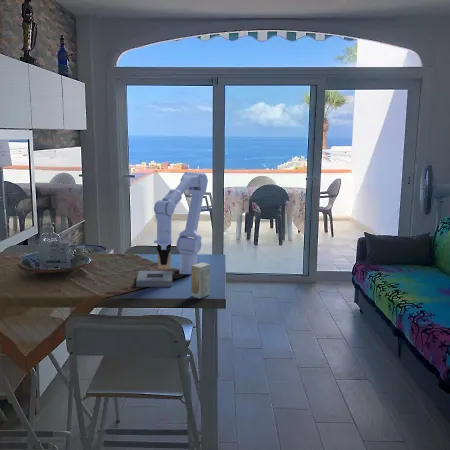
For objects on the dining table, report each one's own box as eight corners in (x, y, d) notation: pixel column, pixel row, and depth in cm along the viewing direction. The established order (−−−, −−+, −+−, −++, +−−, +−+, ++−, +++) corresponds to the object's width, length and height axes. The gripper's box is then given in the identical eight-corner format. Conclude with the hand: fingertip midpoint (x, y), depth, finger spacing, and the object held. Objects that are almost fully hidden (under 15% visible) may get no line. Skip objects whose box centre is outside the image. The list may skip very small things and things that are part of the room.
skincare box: (201, 292, 186) (202, 261, 184) (210, 294, 184) (211, 263, 182) (190, 296, 182) (190, 264, 179) (198, 299, 179) (199, 267, 177)
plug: (158, 266, 197) (158, 247, 196) (170, 266, 198) (170, 248, 196) (157, 268, 193) (157, 250, 192) (170, 268, 194) (170, 250, 193)
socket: (139, 276, 205) (139, 270, 204) (172, 276, 206) (172, 270, 206) (136, 286, 191) (136, 280, 191) (171, 286, 192) (171, 280, 192)
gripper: (154, 226, 199) (154, 258, 202) (153, 233, 185) (153, 267, 188) (171, 226, 200) (171, 258, 203) (171, 233, 186) (171, 267, 189)
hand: (163, 263), depth 195 cm, fingers closed on plug, 4 cm apart
